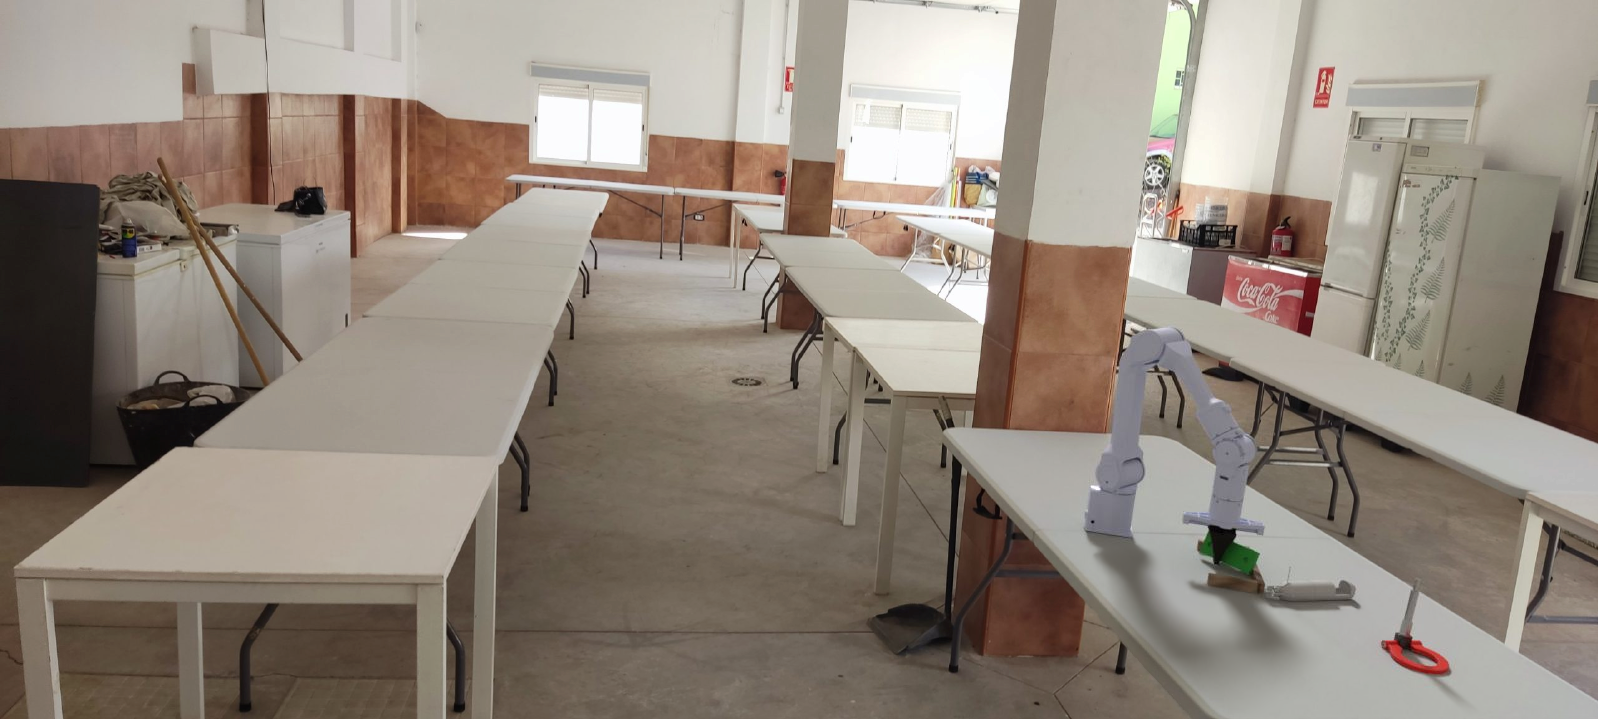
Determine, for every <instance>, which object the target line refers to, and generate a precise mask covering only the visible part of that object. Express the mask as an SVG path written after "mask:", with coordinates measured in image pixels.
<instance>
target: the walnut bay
mask: <svg viewBox="0 0 1598 719" xmlns="http://www.w3.org/2000/svg"><path fill="white" fill-rule="evenodd" d="M1204 540H1205V539H1202V538H1198V539H1197V543H1196V544H1197V545H1196V549H1197V551H1199V552H1200V550H1201V547H1202V545H1203V543H1204ZM1244 546H1245V547H1248V548H1250V549H1251V547H1250V546H1246V545H1244ZM1211 547H1212V544H1211ZM1248 575H1249V574H1248ZM1249 578H1250V579H1249ZM1249 578H1244V577H1236V576H1231V575H1226V574H1225V575H1224V574H1218V573H1212V572H1208V575H1207V579H1206V580H1207V582H1206V584H1207V586H1210V587H1216V588H1223V589H1230V590H1234V591H1241V592H1245V593H1246V592H1247V593H1252V594H1259V595H1264V593H1265V589H1266V587H1265V586H1266V583H1265V580H1264V578H1263V575H1262V573H1261V571H1260V569H1259V566H1258V563H1256V565H1255V567H1254V569H1253V571H1252V574H1251V575H1249Z"/></svg>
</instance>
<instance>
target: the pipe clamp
mask: <svg viewBox="0 0 1598 719" xmlns="http://www.w3.org/2000/svg"><path fill="white" fill-rule="evenodd" d="M1203 540H1204V543H1203V545H1202V547H1201V550H1200V551H1199V552H1200V554H1201V553H1202V554H1203V555H1206V556H1208V557H1210V558H1212V559H1213V548H1212V547H1211V544H1212V542H1211V537H1210V533H1209V530H1208V531H1207V534H1206V535H1205V538H1204V539H1203ZM1245 546H1246V545H1242V544H1240V543H1237V542H1236V541H1235V540H1234V541H1233V542H1232V543H1231V544H1230V545H1229V547H1228V548H1227V550H1226V551H1225V553H1224V555H1223V557H1222V559H1221V561H1220V563H1223V564H1225V565H1228V566H1230V567H1232V568H1233V569H1236V570H1239V571H1241V572H1243V573H1245V574H1246V575H1251V574H1252V571H1253V569H1254V567H1255V565H1256V564H1257V562H1258V560H1259V557H1260V554H1261V553H1260V552H1258V551H1256V550H1254V549H1252V548H1251V547H1250V548H1248V547H1249V546H1248V547H1245Z"/></svg>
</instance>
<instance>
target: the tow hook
mask: <svg viewBox="0 0 1598 719" xmlns="http://www.w3.org/2000/svg"><path fill="white" fill-rule="evenodd" d="M1421 582H1422V581H1421V578H1419V577H1415V579H1414V584H1413V587H1412V588H1411V589H1410V593H1409V597H1408V601H1407V605H1406V609H1405V614H1404V618H1402V620H1401V623H1400V628H1399V631H1398V632H1397V631H1396V632H1395V634H1394V638H1393V640H1391V639H1390V640H1389V639H1386V640H1381V642H1380V645H1381V648H1382V649H1384V650H1388V651H1389V653H1390V657H1391V658H1392V659H1393V660H1394V661H1395V662H1397V663H1398V664H1399V665H1402V666H1403V667H1405V668H1406V669H1409V670H1412V671H1416V672H1418V673H1423V674H1427V675H1442V674H1446V673H1448V671H1449V668H1450V667H1449V666H1450V664H1449V661H1448V660H1447V659H1446V658H1445V657H1444V656H1443V655H1441V654H1440V653H1438V652H1436V651H1435V650H1432V649H1430V648H1429V647H1428V648H1427V647H1425V646H1424V645H1423V642H1422V641H1421V640H1417V639H1414V640H1413V636H1412V635H1411V634H1412V633H1411V632H1412V627H1413V623H1414V622H1413V619H1414V614H1415V610H1416V606H1417V602H1418V598H1419V594H1420V590H1419V588H1420V584H1421ZM1404 650H1405V651H1406V650H1411V651H1413V652H1414V653H1416V654H1420V655H1422V656H1423V655H1424V656H1425V657H1427V658H1429V659H1431V660H1433V661H1434V662H1435V665H1425V664H1421V663H1417V662H1414V661H1413V660H1410V659H1408V658H1407V657H1405V656H1404V655H1403V654H1402V653H1403V651H1404Z"/></svg>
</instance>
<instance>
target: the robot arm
mask: <svg viewBox="0 0 1598 719" xmlns="http://www.w3.org/2000/svg"><path fill="white" fill-rule="evenodd" d="M1193 355H1194V354H1193V352H1192V346H1191V343H1189V341H1188V340H1186V337H1185V335H1184V333H1183V331H1181V329H1179V328H1177V327H1176V326H1172V325H1171V326H1166V327H1160V328H1154V329H1153V328H1152V329H1148V328H1147V329H1143V330H1141V331H1139V332H1138V333H1136V334H1134V335H1132V336H1131V337H1130V343H1129V344H1128V346H1127V347H1126V349H1125V351H1124V352H1123V353H1122V354H1121V356H1120V359H1119V363H1118V364H1119V367H1118V373H1117V381H1116V382H1117V383H1116V391H1115V400H1114V401H1115V402H1114V411H1113V419H1112V427H1111V428H1112V429H1111V435H1110V436H1111V437H1110V438H1111V439H1110V443H1109V444H1108V445H1107V446H1106V447H1105V449H1104V450H1103V451H1102V453H1101V458H1100V461H1099V463H1098V464H1097V466H1096V469H1095V480H1096V481H1097V484H1098V485H1097V484H1096V485H1093V484H1090V486H1089V491H1088V497H1087V505H1086V509H1085V511H1084V522H1085V523H1084V524H1085V526H1084V527H1085V531H1086V532H1092V533H1098V534H1105V535H1110V536H1111V535H1112V536H1118V537H1124V538H1129V539H1130V538H1132V539H1133V538H1134V532H1133V526H1132V522H1133V516H1134V515H1133V514H1134V509H1135V508H1134V507H1135V501H1136V493H1137V489H1138V484H1140V483H1141V482H1142V481H1143V480H1144V478H1145V476H1146V467H1145V462H1144V451H1143V450H1142V449H1141V447H1140V445H1139V442H1140V434H1141V433H1140V432H1141V425H1142V424H1141V423H1142V415H1143V408H1144V407H1143V406H1144V399H1145V391H1146V390H1145V389H1146V383H1147V382H1146V381H1147V372H1148V371H1149V370H1150V369H1152V368H1153V367H1155V366H1157V367H1159V368H1162V369H1165V370H1169V371H1171V372H1174V373H1175V375H1176V376H1177V377H1178V379H1179V380H1180V382H1181V384H1182V385H1183V386H1184V388H1185V390H1187V392H1188V394H1189V395H1190V397H1191V398H1192V400H1193V401H1194V403H1195V404H1196V406H1197V408H1196V413H1195V416H1196V418H1197V419H1198V421H1199V423H1200V424H1201V426H1202V429H1203V430H1204V431H1205V433H1206V435H1207V437H1208V438H1209V440H1210V442H1211V444H1212V445H1213V446H1214V447H1215V448H1212V457H1213V460H1214V461H1215V466H1216V467H1215V472H1214V477H1213V484H1212V490H1211V495H1210V501H1209V506H1208V512H1207V511H1205V512H1204V511H1187V510H1184V511H1183V513H1182V518H1181V521H1182V524H1185V525H1189V524H1191V525H1192V524H1193V525H1199V526H1205V527H1207V528H1208V531H1209V533H1210V537H1211V542H1212V548H1213V558H1212V563H1213V565H1215V566H1220V563H1221V559H1222V557H1223V555H1224V553H1225V551H1226V550H1227V548H1228V547H1229V545H1230V544H1231V543H1232V542H1233V541H1234V542H1235V540H1236V538H1237V535H1238V534H1237V531H1238V532H1245V533H1250V534H1251V533H1252V534H1256V535H1257V536H1264V533H1265V527H1266V526H1265V524H1264V522H1260V521H1255V520H1251V519H1246V518H1243V517H1241V516H1242V510H1243V505H1244V499H1245V495H1246V487H1247V481H1248V476H1249V475H1248V474H1249V468H1250V463H1251V462H1253V461H1254V460H1255V459H1256V457H1257V455H1258V447H1257V443H1256V441H1255V438H1253V436H1251V435H1249V434H1248V433H1245V431H1244V429H1243V428H1240V426H1239V424H1238V422H1237V421H1236V419H1235V418H1234V416H1233V414H1232V413H1231V412H1232V411H1233V408H1231V406H1230V404H1226V402H1225V401H1224V400H1221V399H1220V398H1219V399H1218V398H1217V397H1214V394H1213V393H1212V391H1211V388H1210V387H1209V385H1208V383H1207V381H1206V379H1205V377H1204V375H1203V373H1202V371H1201V369H1200V367H1199V364H1198V363H1197V361H1196V360H1195V358H1194V356H1193Z"/></svg>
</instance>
